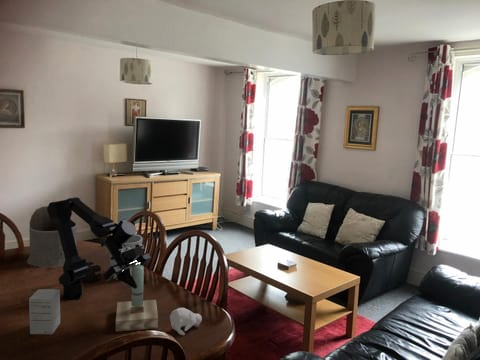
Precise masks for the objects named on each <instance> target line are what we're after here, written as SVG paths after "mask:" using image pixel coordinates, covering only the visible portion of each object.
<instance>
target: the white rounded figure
mask: <svg viewBox="0 0 480 360" xmlns="http://www.w3.org/2000/svg"><path fill="white" fill-rule="evenodd" d="M169 320H170V325H171V328H172V329H173V330H174V331H176V332H177V333H178V334H179V335H180V336H185V335H186V333H185V332H186V331H188V330H189V329H191V328H192V327H193V326H194V327H196V328H198V327H199V326H200V324H201V323H202V320H203V317H202V315H201V314H199V313H194V312H193V311H191V310H189V309H187V308H185V307H178V308H176V309H174V310H172V312H171V313H170V315H169ZM182 327H184V330H182Z"/></svg>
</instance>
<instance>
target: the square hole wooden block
mask: <svg viewBox="0 0 480 360" xmlns="http://www.w3.org/2000/svg"><path fill="white" fill-rule="evenodd" d="M131 304H132V300H129V301H118V302H117V306H116V314H115V315H116V317H115V332H124V331H125V332H127V331H137V330H149V329H150V330H151V329H158V327H159V323H158V322H159V317H158V308H157V299H149V300H148V299H145V300H144V299H143V305H142V306H139V307H134V306H132V305H131Z"/></svg>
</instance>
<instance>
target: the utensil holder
mask: <svg viewBox="0 0 480 360" xmlns="http://www.w3.org/2000/svg"><path fill="white" fill-rule="evenodd" d="M140 243H142V244H143V237H142V235H140V234H136V233H135V234H134V235H133V236H132V237H131V238H130V239H129V240H128V241H127V242H126V243H124V245H125V246H126V247H128V246H129V247H130V248H131V249H133V248H135V245H137V244H140ZM111 257H112V255H111V253H110V252H109V263H110V266H109V268H110V267H111V266H114V265H116V264H117V263H116V262H115V260H111ZM134 260H135V259H134ZM131 271H132V267H130V274H131V276H132V272H131ZM116 277H117V276H116V274H114V276H113V279H114V280H117V281H119V280H118V279H115V278H116Z"/></svg>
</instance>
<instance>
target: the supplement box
mask: <svg viewBox="0 0 480 360" xmlns="http://www.w3.org/2000/svg"><path fill="white" fill-rule="evenodd" d="M60 291H61V290H60V289H52V288H51V289H50V288H49V289H42V288H40V289H39V288H38V289H37V290H36V291H35V292H34V293H33V294H32V295H31V296H30V297H29V298H28V303H29V306H28V307H29V309H28V310H29V313H28V315H29V334H31V335H53V334H54V333H55V331H56V329H57V328H58V327H59V326H60V323H61V301H60V299H61V296H60V295H61V292H60Z"/></svg>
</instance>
